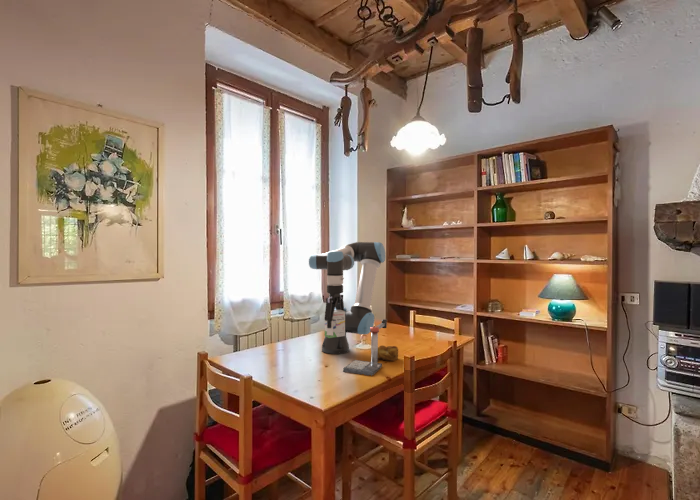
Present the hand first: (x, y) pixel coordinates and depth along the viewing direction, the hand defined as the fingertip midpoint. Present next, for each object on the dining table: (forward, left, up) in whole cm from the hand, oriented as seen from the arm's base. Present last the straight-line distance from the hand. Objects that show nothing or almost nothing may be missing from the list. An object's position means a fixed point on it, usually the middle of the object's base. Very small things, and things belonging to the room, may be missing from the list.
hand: (334, 332), depth 173 cm
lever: (+18, +13, 0) cm, 22 cm away
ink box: (0, 0, -2) cm, 2 cm away
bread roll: (+17, +25, -17) cm, 35 cm away
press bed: (+12, +6, -17) cm, 22 cm away
